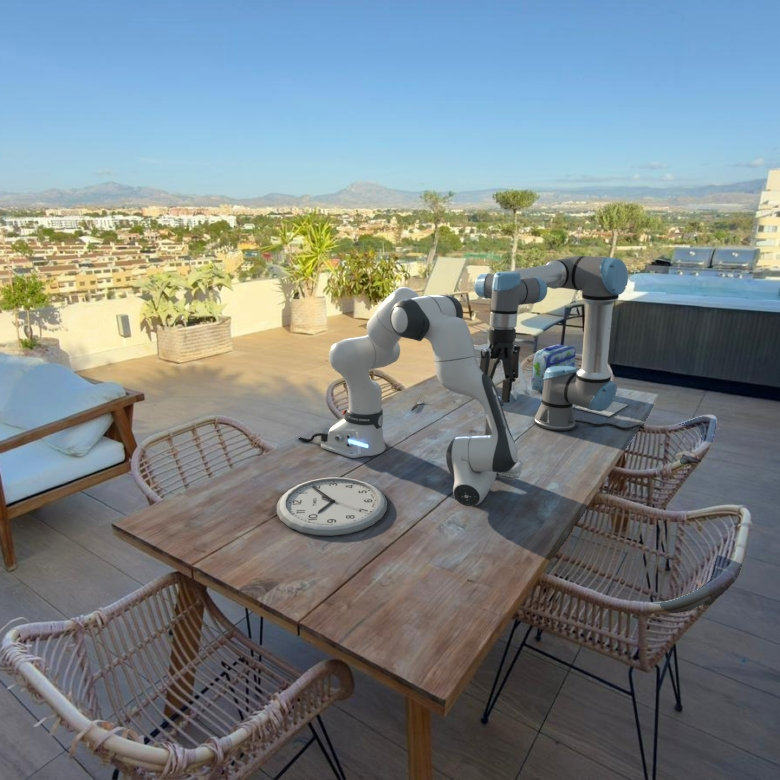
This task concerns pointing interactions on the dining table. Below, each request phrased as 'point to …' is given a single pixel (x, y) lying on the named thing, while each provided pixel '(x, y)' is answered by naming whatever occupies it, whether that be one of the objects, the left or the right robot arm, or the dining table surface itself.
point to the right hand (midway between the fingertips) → (496, 403)
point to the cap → (501, 400)
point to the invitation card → (609, 411)
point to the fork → (418, 403)
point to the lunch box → (550, 362)
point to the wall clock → (331, 506)
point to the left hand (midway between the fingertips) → (492, 453)
